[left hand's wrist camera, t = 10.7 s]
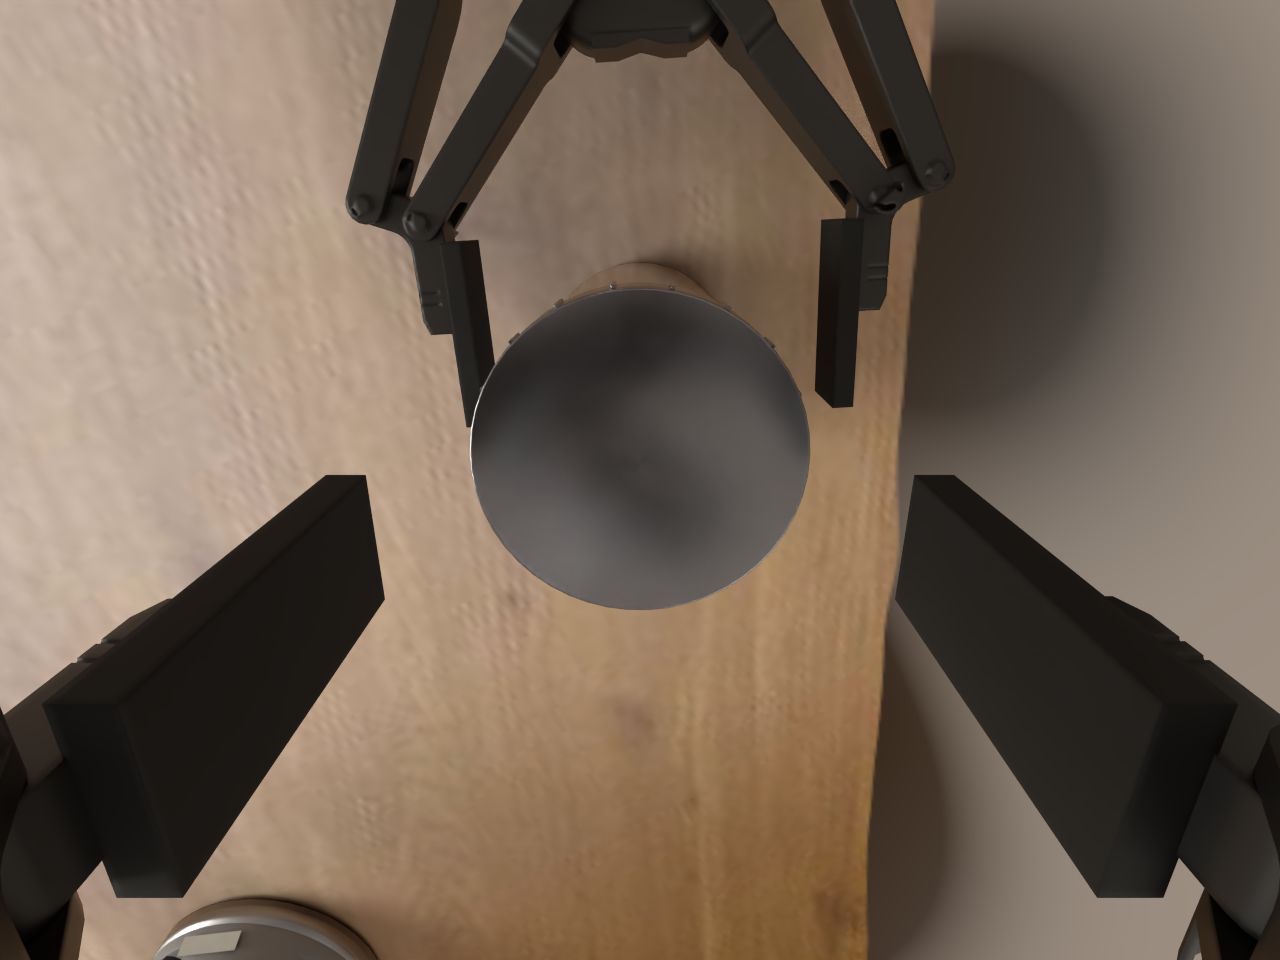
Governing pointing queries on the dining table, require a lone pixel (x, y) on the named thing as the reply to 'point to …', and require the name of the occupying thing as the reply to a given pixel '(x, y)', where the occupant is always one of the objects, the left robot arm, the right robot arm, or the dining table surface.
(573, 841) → the dining table surface
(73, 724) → the left robot arm
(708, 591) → the lid
